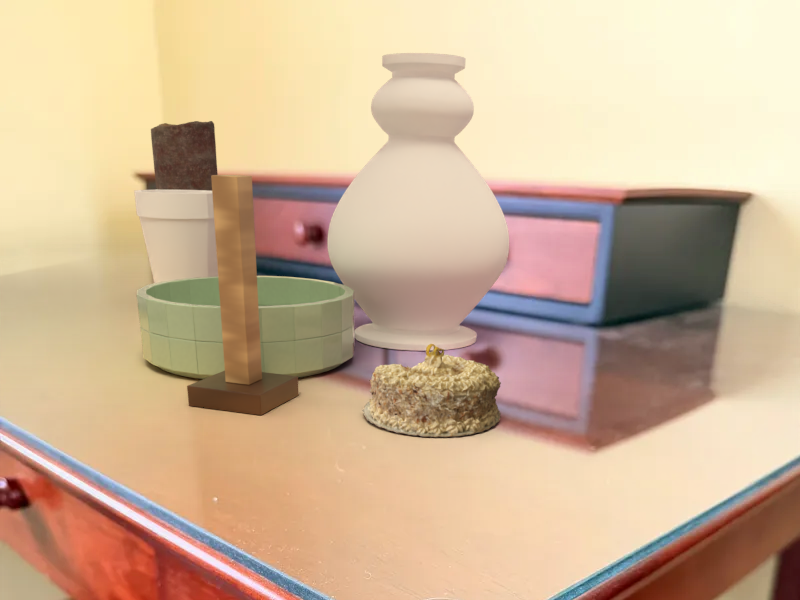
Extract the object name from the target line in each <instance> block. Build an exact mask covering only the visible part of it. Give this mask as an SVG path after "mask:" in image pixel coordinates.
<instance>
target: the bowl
mask: <svg viewBox="0 0 800 600" xmlns="http://www.w3.org/2000/svg"><path fill="white" fill-rule="evenodd" d="M257 289H258V308H259V328H260V348H261V367H262V372H266V373H274V374H283V375H292V376H298V379H299V378H303V377H309V376H314V375H319V374H322V373H325V372H329V371H332V370H334V369H336V368H338V367H340V366H341V365H342V364H344V363H345V362H347V361H349V360H350V359H352V358H353V357H354V353H355V299H354V290H353V289H351V288H350V287H348V286H345V285H344V284H343V283H338V282H335V281H329V280H322V279H316V278H305V277H294V276H280V275H279V276H277V275H257ZM136 301H137V311H138V321H139V329H140V338H141V348H142V355H143V356H142V357H143V359H144V360H146V361H147V362H148V363H150V364H151V365H153V366H156V367H158V368H159V369H160V370H163V371H165V372H167V373H170V374H172V375H176V376H181V377H186V378H191V379H198V380H203V379H205V378H208V377H210V376H213V375H215V374H217V373H220V372H222V371H225V366H224V352H223V337H222V323H221V309H220V295H219V280H218V276H210V277H196V278H185V279H176V280H169V281H162V282H158V283H154V282H153V283H149V284H145V285H144V286H142V287H139V288H138V289H136Z"/></svg>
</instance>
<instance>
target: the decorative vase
mask: <svg viewBox="0 0 800 600" xmlns="http://www.w3.org/2000/svg"><path fill="white" fill-rule="evenodd" d="M381 59H382V63H381V64H382V67H383V68H384V69H386V70H388V71H390V73H391V78H390V79H389V80H387V82H385V83H384V84H383V85H382V86H381V87H379V89H378V90H377V91H376V92H375V93H374V95H373V98H372V100H371V105H370V112H371V115H372V118H373V119H374V121H375V123H377V125H378V126H379V127H380V128H381V130H382V131H383V132H384V133H385V134H386V135H388V140H387V141H386V142H385V144H384V145H382V147H381V148H380V149H379V150H378V151H377V152H376V153H375V154H374V155H373V156H372V158H370V159H369V161H367V163H366V164H365V165H364V166H363V168H362V169H360V170H359V172H358V173H357V174H356V176H355V177H353V180H352V181H351V182H350V184H349V185H348V187H346V189H345V191H344V193H343V194H342V196H341V197H340V199H339V200H338V203H337V204H336V207H335V208H334V211H333V213H332V216H331V218H330V222H329V224H328V225H329V226H328V231H327V255H328V258H329V261H330V264H331V266H332V268H333V270H334V272H335V274H336V275H337V277H338V278H339V280H340V281H341V284H342V285H345V286H348V287H350V288H351V289H353V290H354V301H355V302H356V303H357V305H358V306H359V308H361V310H362V312H364V314H365V315H366V316H367V317H368V319H369V320H370V321H371V322H369V323H365V324H362V325H359V326H357V327H356V328H354V340H355V341H358V342H360V343H361V344H364V345H367V346H372V347H377V348H383V349H387V350H388V349H389V350H399V351H411V352H412V351H413V352H415V351H416V352H417V351H418V352H426V348H427V346H428V345H430V344H434V345H435V346H436V347H438V348H441V349H444V351H447V350H449V351H450V350H456V349H461V348H465V347H469V346H472V345H474V344H475V343H476V342H477V337H478V335H477V331H475V330H474V329H471V328H470V327H467V326H463V325H460V324H461V323H462V322H464V320H465V319H466V318H467V317H468V316H469V315H470V314H471V312H472V311H474V309H475V308H476V307H477V305H479V303H480V302H481V301H482V300H483V299H484V297H485V296H486V295H487V294H488V292H489V291H490V290H492V287H493V286H494V285H495V284H496V282H497V281H498V279H499V278H500V276H501V275H502V273H503V271H504V269H505V268H506V265H507V262H508V259H509V252H510V234H509V227H508V223H507V220H506V216H505V214H504V212H503V209H502V207H501V205H500V203H499V200H498V199H497V198H496V196H495V194H494V192H493V190H492V189H491V187H490V186H489V184H488V183H487V182H486V180H485V179H484V177H483V175H482V174H481V173H480V172H479V170H478V169H477V167H476V166H474V164H473V163H472V162H471V160H470V159H469V158H468V157H467V156H466V153H464V152H463V151H462V149H461V148H460V147H459V146H458V145H457V144H456V142H455V137H456V136H458V135H460V134H461V132H463V130H464V129H465V128H466V127H467V126H468V125H469V124H470V122H471V121H472V119H473V117H474V111H475V106H474V102H473V99H472V97H471V95H470V93H468V91H467V90H466V89H465V88H464V87H463V85H461V84H460V83H459V82H458V81H457V80H456V79H455V75H456V74H457V73H459V72H461V71H463V70H465V68H466V57H464V56H462V55H455V54H446V53H433V52H399V53H398V52H397V53H387V54H384V55H382V58H381ZM433 350H434V346H432V347H431V349H430V351H429V352H432V351H433Z"/></svg>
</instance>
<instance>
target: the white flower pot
mask: <svg viewBox="0 0 800 600" xmlns="http://www.w3.org/2000/svg"><path fill="white" fill-rule="evenodd" d="M133 192H134V201H135V210H136V211H135V212H136V216H137V217H138V218H139V222H140V227H141V231H142V235H143V240H144V244H145V249H146V253H147V257H148V262H149V266H150V270H151V274H152V279H153V283H158V282H162V281H169V280H176V279H185V278H196V277H210V276H218V266H217V252H216V238H215V223H214V209H213V195H212V191H207V190H156V189H137V190H133Z"/></svg>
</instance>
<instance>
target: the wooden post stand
mask: <svg viewBox="0 0 800 600" xmlns="http://www.w3.org/2000/svg"><path fill="white" fill-rule="evenodd" d="M211 180H212V195H213V209H214V223H215V238H216V252H217V266H218V280H219V295H220V309H221V323H222V337H223V352H224V366H225V371H222V372H220V373H217V374H215V375H213V376H210V377H208V378H205V379H199V380H198V381H195V382H193V383H191V384H188V385H187V386H186V389H187V390H186V391H187V400H188V407H189V406H190V407H197V408H203V407H204V408H205V409H212V410H219V411H225V412H226V411H227V412H233V413H242V414H249V415H256V416H262V415H264V414H266V413H268V412H270V411H271V410H274V409H276V408H278V407H279V406H281V405H283V404H285V403H287V402H288V401H291V400H292V399H294V398H296V397H297V396H299V378H298V376H292V375H283V374H274V373H266V372H262V367H261V348H260V328H259V308H258V289H257V276H258V273H257V272H258V271H257V269H258V268H257V251H256V249H257V248H256V233H255V232H256V231H255V212H254V195H253V194H254V192H253V191H254V190H253V176H252V175H240V174H239V175H237V174H218V175H212V176H211ZM204 408H203V409H204Z"/></svg>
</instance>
